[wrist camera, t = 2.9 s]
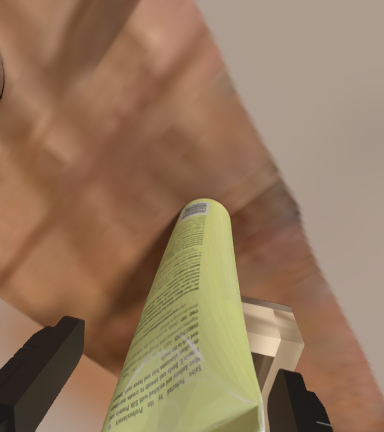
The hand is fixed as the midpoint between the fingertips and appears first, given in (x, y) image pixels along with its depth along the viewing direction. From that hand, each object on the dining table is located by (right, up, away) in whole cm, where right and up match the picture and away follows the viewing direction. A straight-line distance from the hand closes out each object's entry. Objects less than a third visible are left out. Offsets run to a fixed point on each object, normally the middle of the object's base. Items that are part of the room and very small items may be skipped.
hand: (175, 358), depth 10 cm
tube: (+2, +5, +15) cm, 16 cm away
